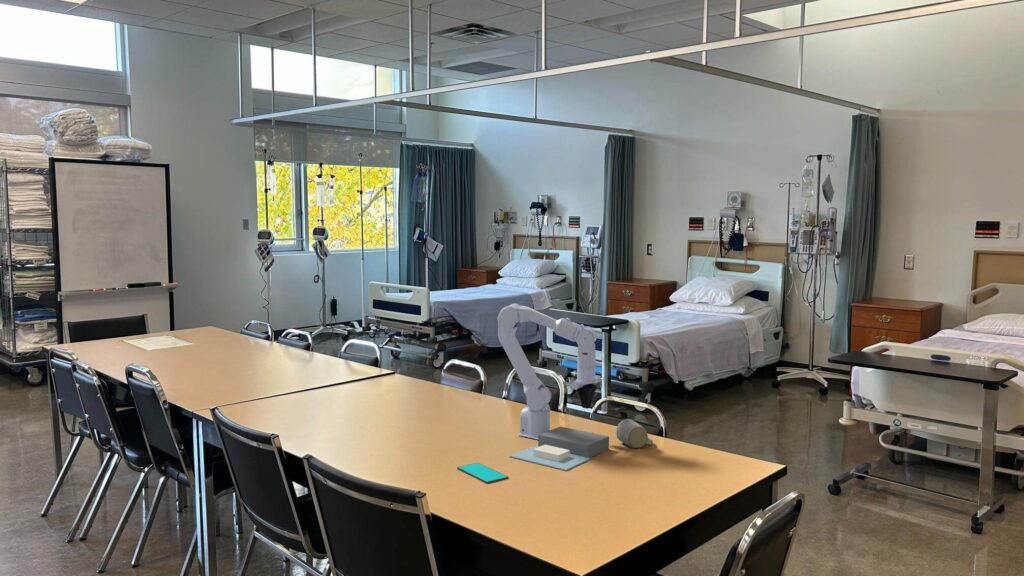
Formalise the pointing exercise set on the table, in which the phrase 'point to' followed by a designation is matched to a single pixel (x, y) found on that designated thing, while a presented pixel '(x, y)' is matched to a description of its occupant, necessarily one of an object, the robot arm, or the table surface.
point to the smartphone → (482, 473)
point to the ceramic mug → (632, 434)
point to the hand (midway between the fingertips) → (586, 407)
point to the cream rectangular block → (551, 453)
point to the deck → (575, 441)
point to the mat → (562, 465)
